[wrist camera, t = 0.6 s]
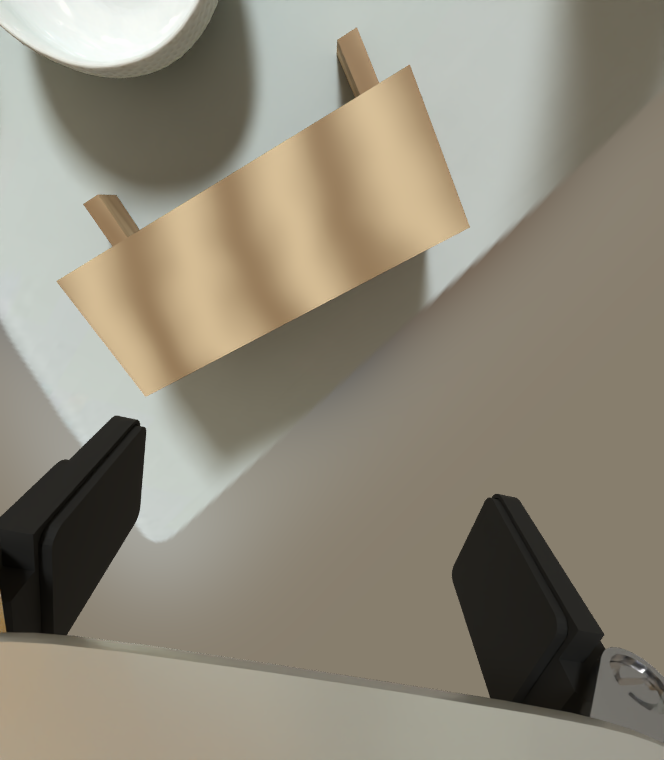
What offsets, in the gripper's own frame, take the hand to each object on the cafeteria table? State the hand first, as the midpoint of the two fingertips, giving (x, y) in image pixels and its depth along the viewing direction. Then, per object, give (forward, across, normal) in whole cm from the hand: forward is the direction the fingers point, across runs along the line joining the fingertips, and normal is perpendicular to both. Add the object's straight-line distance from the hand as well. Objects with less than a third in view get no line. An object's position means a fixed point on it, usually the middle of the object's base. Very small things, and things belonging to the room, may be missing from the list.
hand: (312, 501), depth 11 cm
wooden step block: (+30, +6, -5) cm, 31 cm away
